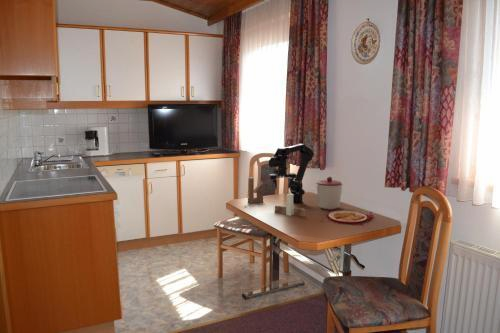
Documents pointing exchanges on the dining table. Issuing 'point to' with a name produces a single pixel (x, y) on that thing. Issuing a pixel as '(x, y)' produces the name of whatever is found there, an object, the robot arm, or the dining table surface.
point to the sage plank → (289, 204)
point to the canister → (329, 193)
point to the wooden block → (255, 191)
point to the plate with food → (348, 217)
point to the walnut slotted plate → (296, 211)
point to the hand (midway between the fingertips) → (282, 188)
